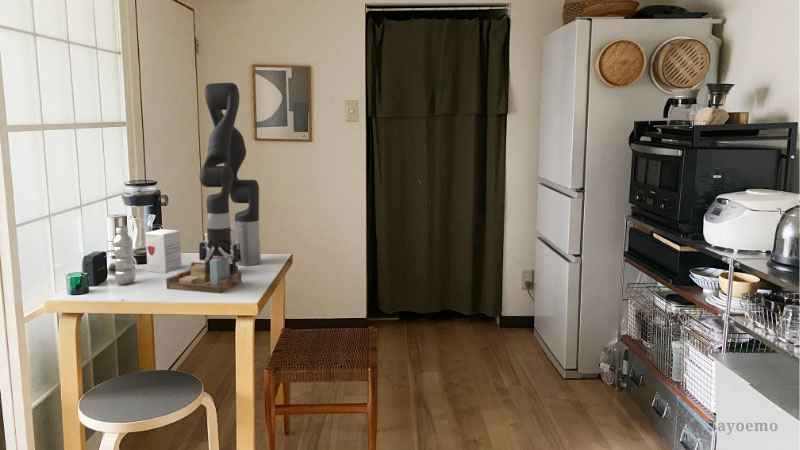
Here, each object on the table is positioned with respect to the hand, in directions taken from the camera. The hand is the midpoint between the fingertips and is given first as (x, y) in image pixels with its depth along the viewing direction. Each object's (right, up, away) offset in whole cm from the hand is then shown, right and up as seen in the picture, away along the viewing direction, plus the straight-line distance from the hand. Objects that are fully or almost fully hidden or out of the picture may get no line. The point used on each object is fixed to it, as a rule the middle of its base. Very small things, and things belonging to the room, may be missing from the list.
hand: (220, 273), depth 217 cm
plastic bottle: (-36, -4, +8) cm, 37 cm away
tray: (-6, -5, +3) cm, 8 cm away
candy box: (-6, -2, +22) cm, 23 cm away
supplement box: (-29, -1, +28) cm, 41 cm away
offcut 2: (-8, -1, +5) cm, 10 cm away
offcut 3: (-8, -4, +6) cm, 11 cm away
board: (0, -5, +1) cm, 5 cm away
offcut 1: (-11, -5, +1) cm, 12 cm away
